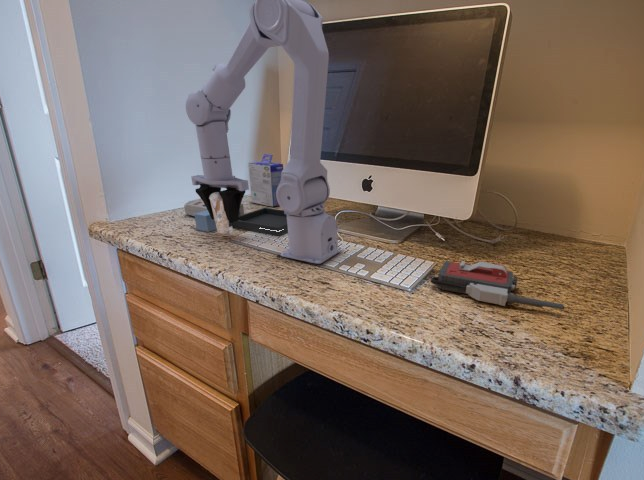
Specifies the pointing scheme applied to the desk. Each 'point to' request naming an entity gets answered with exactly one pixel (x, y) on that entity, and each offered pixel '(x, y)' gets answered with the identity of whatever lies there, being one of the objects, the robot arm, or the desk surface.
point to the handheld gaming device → (201, 207)
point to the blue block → (204, 221)
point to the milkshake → (220, 214)
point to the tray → (263, 221)
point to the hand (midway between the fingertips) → (225, 219)
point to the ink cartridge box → (265, 181)
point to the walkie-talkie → (484, 283)
